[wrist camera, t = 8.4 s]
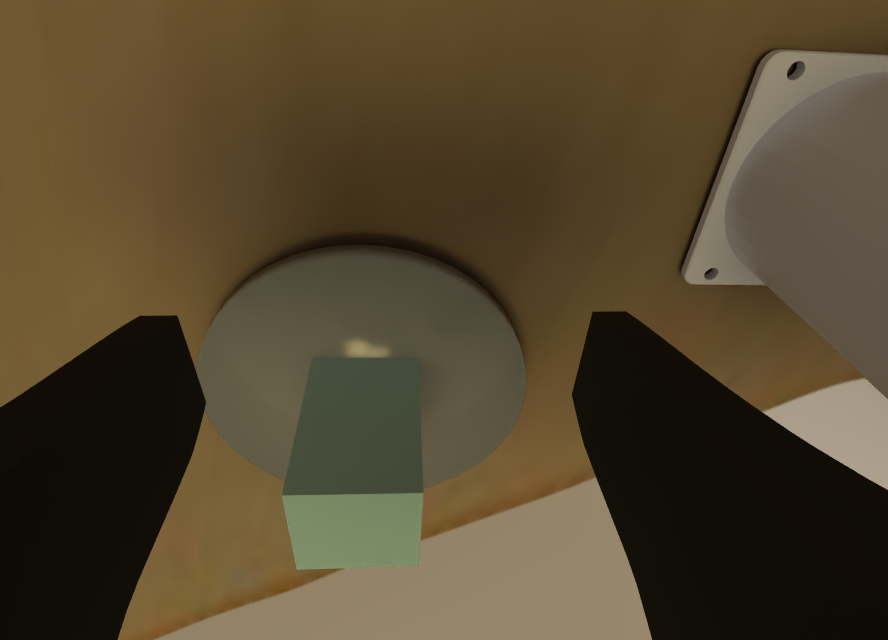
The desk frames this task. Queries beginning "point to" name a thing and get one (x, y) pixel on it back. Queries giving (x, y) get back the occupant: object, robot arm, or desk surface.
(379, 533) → the pale green block
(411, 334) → the slate plate
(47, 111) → the desk surface
